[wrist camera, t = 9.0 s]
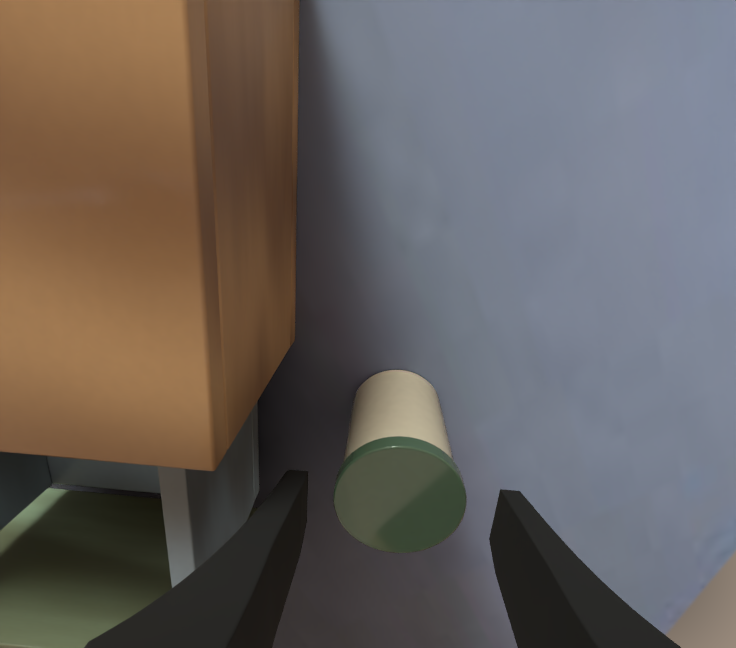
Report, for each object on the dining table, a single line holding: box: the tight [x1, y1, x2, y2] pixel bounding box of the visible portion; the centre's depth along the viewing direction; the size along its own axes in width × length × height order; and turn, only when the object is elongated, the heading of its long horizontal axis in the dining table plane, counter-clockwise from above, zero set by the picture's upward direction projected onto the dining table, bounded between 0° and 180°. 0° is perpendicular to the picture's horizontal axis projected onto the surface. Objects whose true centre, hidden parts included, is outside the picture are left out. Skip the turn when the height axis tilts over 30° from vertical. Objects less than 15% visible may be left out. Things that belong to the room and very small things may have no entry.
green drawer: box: [0, 402, 259, 648], centre depth 16 cm, size 18×11×7 cm, turn 176°
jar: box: [333, 370, 466, 553], centre depth 16 cm, size 4×4×6 cm
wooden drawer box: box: [0, 0, 299, 471], centre depth 11 cm, size 14×13×9 cm
